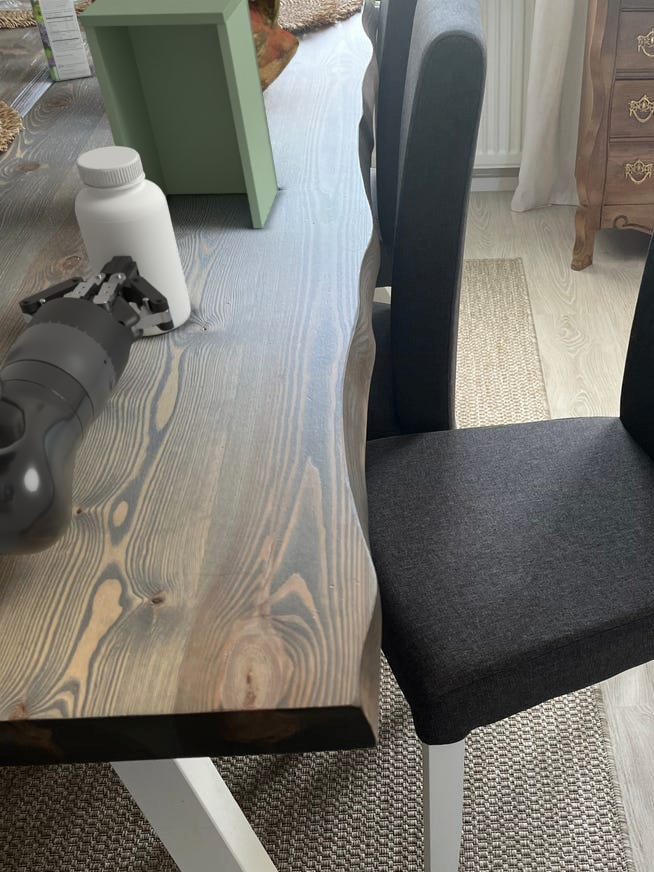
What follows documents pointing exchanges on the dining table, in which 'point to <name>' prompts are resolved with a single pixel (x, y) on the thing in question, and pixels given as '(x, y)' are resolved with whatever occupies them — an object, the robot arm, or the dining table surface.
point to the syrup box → (61, 38)
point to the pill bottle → (130, 224)
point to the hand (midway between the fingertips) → (126, 266)
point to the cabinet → (186, 94)
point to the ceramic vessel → (270, 40)
